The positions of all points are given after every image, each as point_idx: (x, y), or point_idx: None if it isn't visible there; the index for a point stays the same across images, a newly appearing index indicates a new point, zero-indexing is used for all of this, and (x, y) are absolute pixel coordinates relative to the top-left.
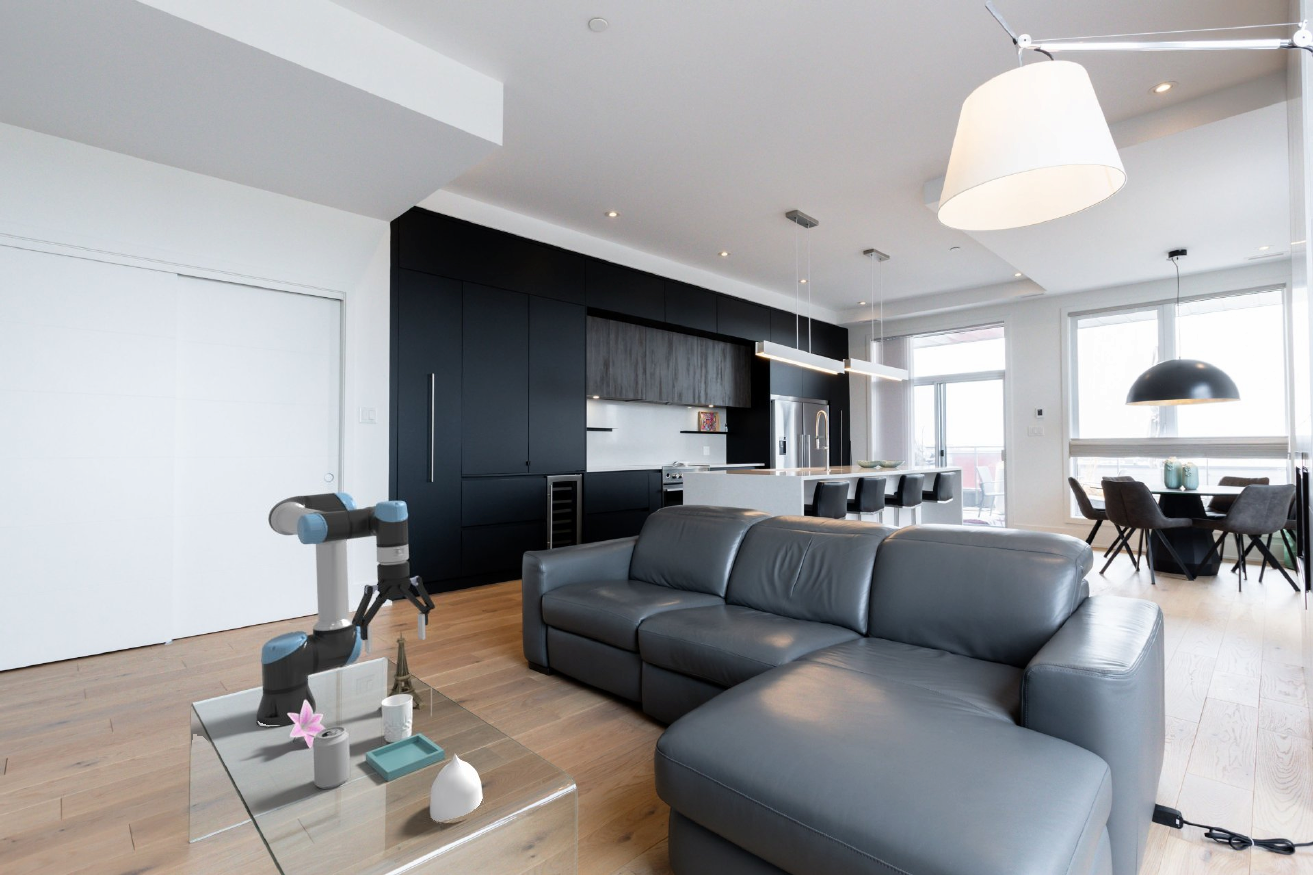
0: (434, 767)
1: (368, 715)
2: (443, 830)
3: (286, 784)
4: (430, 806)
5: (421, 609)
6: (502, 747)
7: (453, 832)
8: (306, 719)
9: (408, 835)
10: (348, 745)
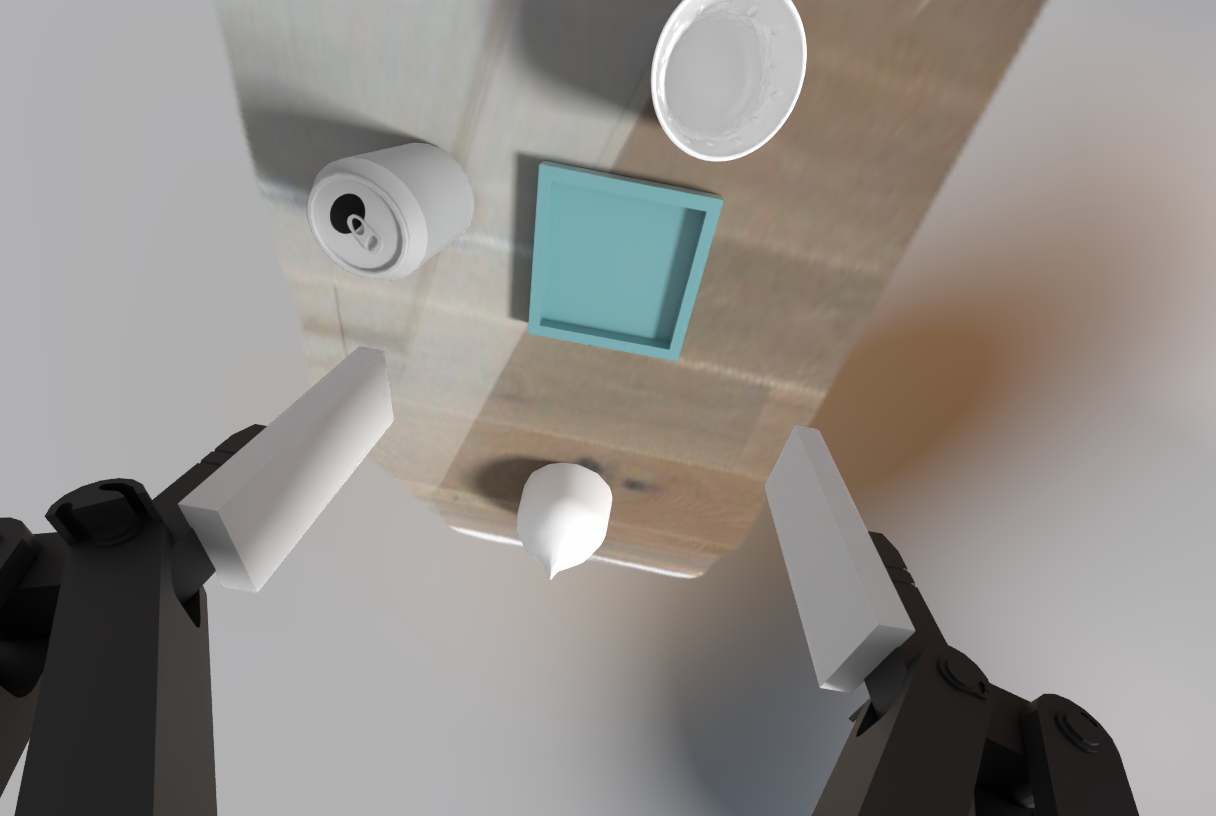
0: (635, 361)
1: None
2: None
3: (321, 66)
4: (528, 484)
5: (842, 759)
6: (783, 422)
7: None
8: None
9: (478, 488)
10: (433, 252)
